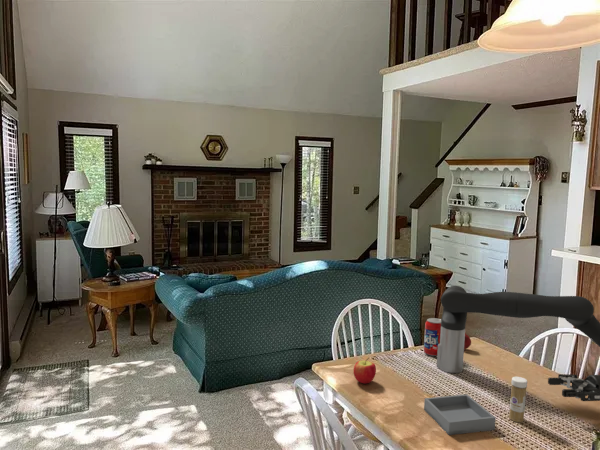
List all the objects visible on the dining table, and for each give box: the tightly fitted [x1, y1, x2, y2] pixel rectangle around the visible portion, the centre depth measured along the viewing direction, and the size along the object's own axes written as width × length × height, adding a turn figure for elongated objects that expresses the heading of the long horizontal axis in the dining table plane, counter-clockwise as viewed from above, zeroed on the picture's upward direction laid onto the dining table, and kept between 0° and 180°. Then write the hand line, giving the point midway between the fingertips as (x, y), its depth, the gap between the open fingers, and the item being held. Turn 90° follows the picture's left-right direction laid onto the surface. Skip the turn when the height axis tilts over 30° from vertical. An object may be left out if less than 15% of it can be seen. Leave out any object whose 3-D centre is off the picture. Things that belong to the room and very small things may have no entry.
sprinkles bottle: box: [508, 376, 528, 423], centre depth 155 cm, size 5×5×13 cm
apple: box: [353, 357, 377, 384], centre depth 180 cm, size 8×8×10 cm
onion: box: [464, 331, 472, 351], centre depth 215 cm, size 6×6×8 cm
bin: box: [423, 394, 496, 436], centre depth 154 cm, size 16×16×4 cm
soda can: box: [423, 317, 442, 357], centre depth 209 cm, size 8×8×15 cm
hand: (555, 387), depth 154 cm, fingers open, 8 cm apart
